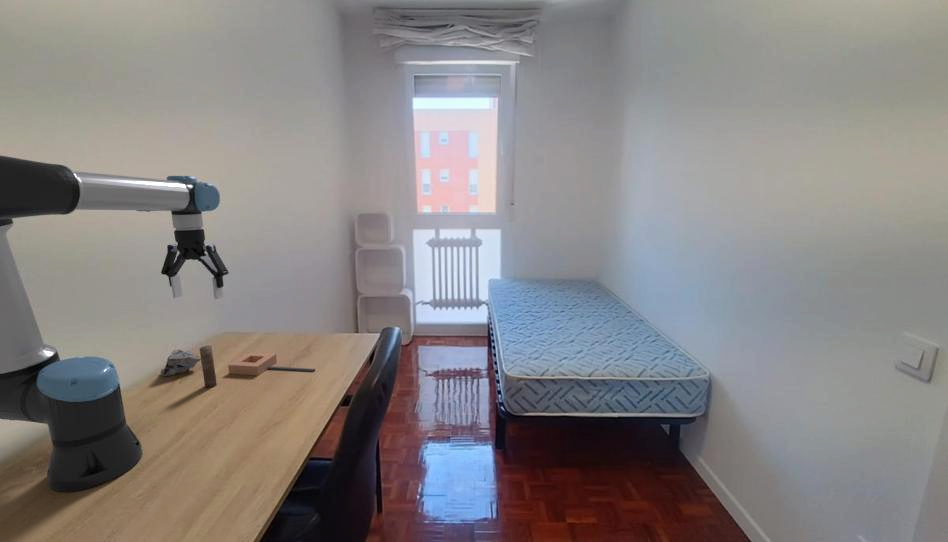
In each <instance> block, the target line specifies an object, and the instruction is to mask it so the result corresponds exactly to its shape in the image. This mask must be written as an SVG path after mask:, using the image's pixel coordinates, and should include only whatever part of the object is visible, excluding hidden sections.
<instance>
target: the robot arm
mask: <svg viewBox="0 0 948 542" xmlns="http://www.w3.org/2000/svg"><path fill="white" fill-rule="evenodd" d="M220 202H221V194H220V191H219V189H218V188H217V187H216V186H215V185H214V184H213V183H211V182H210V183H209V182H203V181H198V180H197V178H196V177H195V176H194V175H168V176H166V179H160V178H149V177H140V176H139V177H138V176H128V175H127V176H126V175H118V174H107V173H96V172H87V171H86V172H85V171H74V170H72V169H71V168H70V167H68V166H66V165H63V164H57V163H47V162H43V161H35V160H30V159H22V158H17V157H12V156H5V155H1V154H0V420H6V421H7V420H9V421H20V422H30V423H38V424H45V425H47V428H48V432H49V436H50V439H51V444H52V450H51V455H50V460H49V466H48V470H47V472H46V479H47V482H48V487H49V488H50V489H52V491H57V492H61V493H62V492H63V493H67V492H69V493H71V492H76V491H82V490H86V489H89V488H90V489H91V488H94V487H96V486H100V485H103V484H106V483H107V482H109V481H113V480H114V479H116V478H118V477H120V476H122V475H123V474H125V473H127V472H128V471H130V470H131V469H132V468H134V466H136V465H137V464H138V463H139V462H140V460H141V459H142V456H143V449H142V444H141V441H140V439H138V438H137V436H136V434H135V433H134V432H133V431H132V429H131V428H130V426H129V425H128V423H127V419H126V415H125V408H124V403H123V396H122V391H121V386H120V385H121V383H120V377H119V375H118V371H117V369H116V366H115V365H114V363H113V362H112V361H111V360H109V359H107V358H104V357H99V356H83V357H78V356H77V357H76V356H74V357H70V358H65V359H62V360H61V359H60V355H59V352H58V349H57V348H56V346H53V345H50V344H47V343H45V342H44V340H43V337H42V334H41V330H40V329H39V325H38V323H37V319H36V317H35V314H34V311H33V308H32V306H31V303H30V300H29V297H28V294H27V290H26V288H25V285H24V282H23V279H22V277H21V272H20V270H19V269H18V265H17V262H16V259H15V256H14V254H13V251H12V247H11V245H10V242H9V239H8V237H7V233H8V232H9V230H10V229H11V228H12V227H13V226H14V225H15V224H14V221H13V219H20V218H28V217H37V216H39V217H40V216H52V215H53V216H54V215H55V216H56V215H63V216H64V215H66V216H67V215H70V214H72V213H73V212H75V211H77V210H78V211H79V210H83V211H85V210H87V211H88V210H89V211H90V210H91V211H137V212H147V213H149V212H161V211H163V212H170V214H171V220H172V221H171V222H172V226H173V227H172V228H174V231H173V233H174V241H175V243H173V244H172V243H171V244H168V245H167V250H166V251H167V253H166V256H165V259H164V262H163V265H162V267H161V271H160V273H161V275H163V276H164V275H165V276H167V278H168V283H169V287H171V290H172V297H173V299H177V298H179V297H183V292H182V283H181V278H180V277H181V276H180V275H179V272H180V270H181V268H182V267H183V266H184V264H185V262H186V261H187V260H192V261H196V260H197V261H198V262H200V263H201V264H202V265H203V266H204V267H205V268H206V270H208V272H209V273H210V274H211V275H212V276H213V277H212V278H211V279H212V280H211V281H212V282H211V283H212V287H213V289H212V290H213V296H214V300H218V299H221V298H223V297H224V295H223V288H224V278H223V277H224V276H226V275H229V273H230V272H229V270H228V268H227V267H226V265H225V264H224V262H223V260H222V258H221V257H220V255H219V253H218V251H217V248H216V245H215V244H214V243H213V244H208V245H205V240H206V236H205V235H206V234H205V229H204V228H203V227H204V221H203V213H204V212H213V211H214V210H216V209H217V208H218V207H219V205H220V204H221V203H220ZM202 212H203V213H202ZM176 243H177V244H176Z"/></svg>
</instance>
